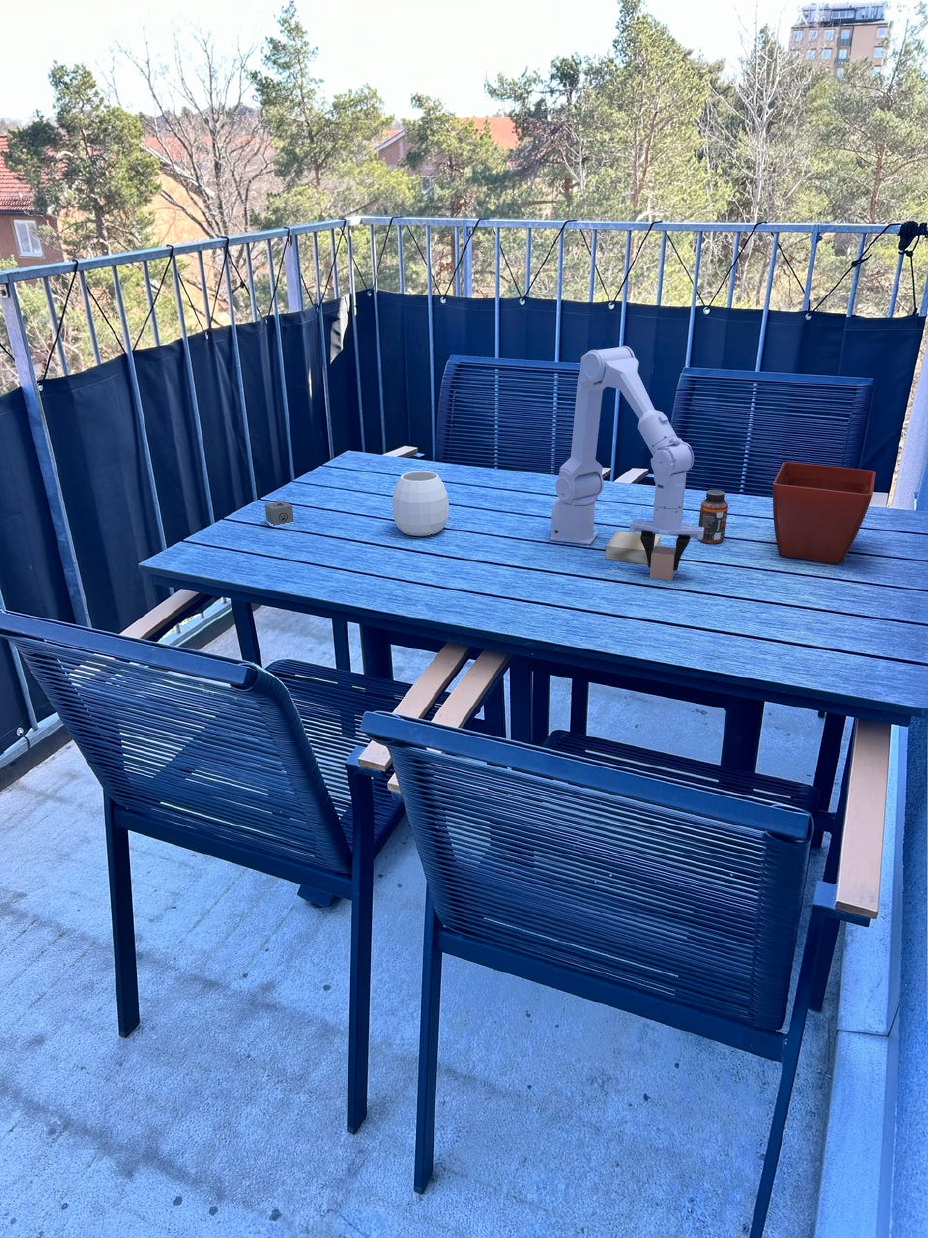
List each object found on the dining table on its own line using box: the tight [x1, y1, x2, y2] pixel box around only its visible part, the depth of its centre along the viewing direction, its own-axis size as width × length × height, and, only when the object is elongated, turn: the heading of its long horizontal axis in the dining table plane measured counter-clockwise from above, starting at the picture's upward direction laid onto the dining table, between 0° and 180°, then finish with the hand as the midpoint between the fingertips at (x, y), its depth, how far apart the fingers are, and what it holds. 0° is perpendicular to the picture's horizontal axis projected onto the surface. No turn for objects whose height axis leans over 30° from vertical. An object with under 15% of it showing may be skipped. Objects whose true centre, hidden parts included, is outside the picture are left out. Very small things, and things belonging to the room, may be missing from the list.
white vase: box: [391, 470, 450, 537], centre depth 207 cm, size 13×13×14 cm
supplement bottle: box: [697, 489, 729, 545], centre depth 199 cm, size 6×6×11 cm
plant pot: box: [772, 461, 877, 565], centre depth 191 cm, size 19×19×17 cm
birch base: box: [605, 530, 662, 565], centre depth 194 cm, size 10×10×3 cm
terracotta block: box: [649, 545, 676, 581], centre depth 183 cm, size 4×4×6 cm
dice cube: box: [263, 500, 295, 526], centre depth 215 cm, size 5×5×5 cm
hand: (663, 567), depth 183 cm, fingers closed on terracotta block, 4 cm apart
